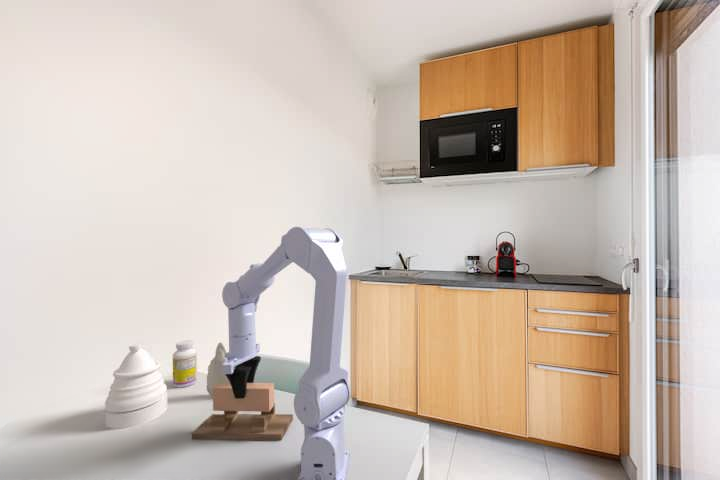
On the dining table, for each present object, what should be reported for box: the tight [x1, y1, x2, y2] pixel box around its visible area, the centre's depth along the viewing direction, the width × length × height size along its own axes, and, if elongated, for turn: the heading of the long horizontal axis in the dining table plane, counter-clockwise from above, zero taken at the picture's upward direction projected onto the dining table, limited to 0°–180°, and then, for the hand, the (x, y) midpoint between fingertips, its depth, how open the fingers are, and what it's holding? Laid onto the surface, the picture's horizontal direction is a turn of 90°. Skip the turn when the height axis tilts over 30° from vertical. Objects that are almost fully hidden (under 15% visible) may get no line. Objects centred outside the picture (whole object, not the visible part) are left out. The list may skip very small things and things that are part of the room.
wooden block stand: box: [191, 402, 294, 441], centre depth 71 cm, size 8×20×4 cm, turn 85°
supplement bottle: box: [172, 339, 198, 388], centre depth 98 cm, size 7×7×13 cm
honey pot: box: [104, 343, 168, 430], centre depth 80 cm, size 13×13×18 cm
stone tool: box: [206, 342, 230, 398], centre depth 88 cm, size 8×3×15 cm, turn 75°
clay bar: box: [212, 382, 275, 413], centre depth 71 cm, size 3×13×5 cm, turn 85°
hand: (243, 394), depth 71 cm, fingers closed on clay bar, 3 cm apart
